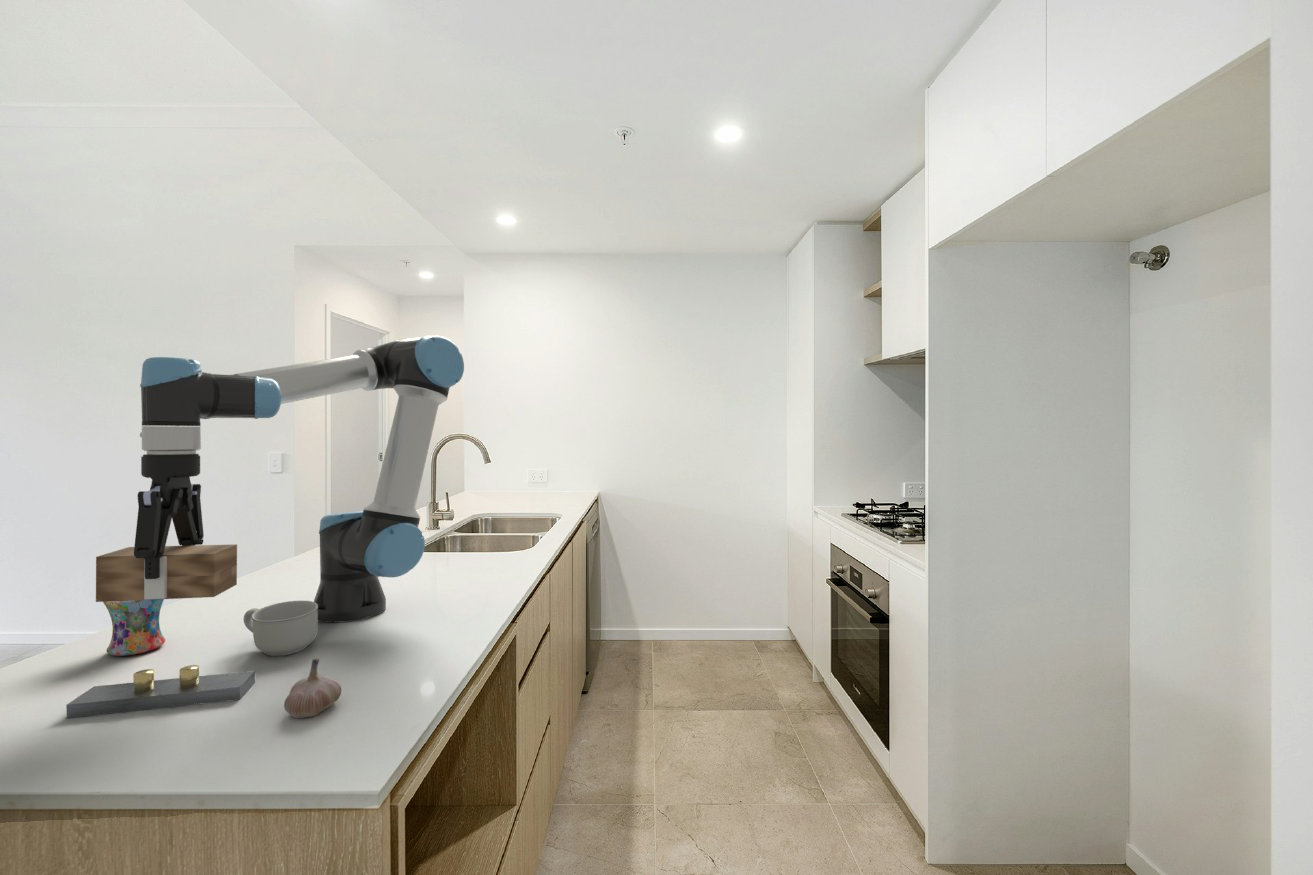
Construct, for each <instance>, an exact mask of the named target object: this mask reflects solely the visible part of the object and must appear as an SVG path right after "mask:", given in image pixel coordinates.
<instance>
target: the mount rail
mask: <svg viewBox="0 0 1313 875" xmlns="http://www.w3.org/2000/svg"><path fill="white" fill-rule="evenodd" d="M154 670H155V669H154V668H153V669H152V668H151V669H150V668H147V669H142V670H139V671H136V672H134V673H133V676H132V677H133V682H127V683H126V682H125V683H124V682H123V683H116V684H106V685H96V686H95V685H94V686H92V687H91V688H90V689H88V690H87V691H85V692H84V693H82V694H80V695H78V696H77V697H76V698H74V699H73V700H72V701H70V702H69V703H66V708H65V709H66V719H73V718H83V717H92V716H93V717H94V716H103V715H111V714H120V713H128V712H137V711H138V712H139V711H147V710H149V711H150V710H156V709H157V710H158V709H166V708H174V707H175V708H176V707H185V706H194V705H203V704H210V703H221V702H223V703H224V702H231V701H240V700H241V699H242V698H243V697H244V696H245V695H246V694H247V692H249V690H250V689H251V688H252V687H253V686H254V685H255V683H256V671H255V670H250V671H249V670H248V671H241V672H239V671H238V672H229V673H228V672H227V673H219V674H208V675H207V674H206V675H199V674H200V666H199V665H198V664H197V665H196V664H193V665H192V664H191V665H186V666H183V667H181V668H179V677H178V678H167V679H166V678H165V679H159V680H158V679H157V680H155V671H154Z"/></svg>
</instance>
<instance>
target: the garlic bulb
mask: <svg viewBox="0 0 1313 875" xmlns="http://www.w3.org/2000/svg"><path fill="white" fill-rule="evenodd" d="M319 663H320V658H319V657H313V658H312V660H311V665H310V671H309V673H308V674H309V675H307V676H305V677H304V678H301V679H300V680H298V681H297V682H295V684H294V685H293V686H291V688H290V691H289V694H288V695H287V696H286V698H285V700H284V704H283V707H284V708H283V709H284V710H285V712H286V713H287V714H289V715H290V716H291V717H293V718H295V719H296V718H297V719H302V718H307V717H308V718H309V717H311V718H312V717H315V716H317V715H318V714H319V715H320V714H321V713H322V712H323V711H324V710H326V708H329V707H330V706H333V704H334V703H335V702H337V701H338V700H339V698H340V697H341V695H342V686H341V684H340V683H339V682H338V681H336V680H335V679H331V678H327V677H325V676H322V675H320V674H319V675H318V666H319Z"/></svg>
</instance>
